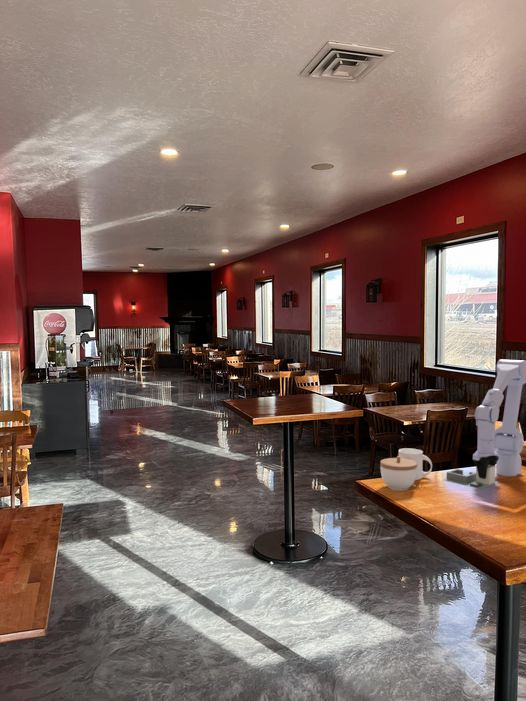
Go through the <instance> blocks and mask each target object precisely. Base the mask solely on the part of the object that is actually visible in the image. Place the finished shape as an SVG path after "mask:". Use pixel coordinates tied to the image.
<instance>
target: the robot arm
mask: <svg viewBox="0 0 526 701" xmlns="http://www.w3.org/2000/svg"><path fill="white" fill-rule="evenodd" d="M496 373H497V374H496V378H495V381H494V384H493V388H491V389H488V391H487V393H486V395H485V397H484V399H483V401H482V403H481V404H480V405H479V406H477V407H476V408H475V411H474V419H475V424H476V426H477V450H476V451H475V452H474V453H473V454H472V461H473V463H474V465H475V467H477V471H478V475H479V478H482V479H485V478H486V474H487V468H488V465H494V466H495V467H496V468H495V474H497V475H500V476H502V477H503V476H504V477H516V476H517V475H522V476H524V474H523V473H522V456H521V455H520V454H521V452H522V451H523V448H524V435H523V433H522V432H521V431H520V430H519V429H518V428H517V424H518V417H519V410H520V405H521V399H522V397H521V396H522V391H523V390H522V389H523V385H524V384H526V360H525V359H522V360H518V359H503V358H502V359H499V360H498V361H497V363H496ZM505 389H507V390H506V397H505V396H504V394H503V393H504V391H505ZM504 398H505V404H504V411H503V418H502V424H501V426H499V427H497V428H496V423H497V421H498V419H499V415H500V414H499V413H500V407H501V404H502V403H503V400H504Z"/></svg>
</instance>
